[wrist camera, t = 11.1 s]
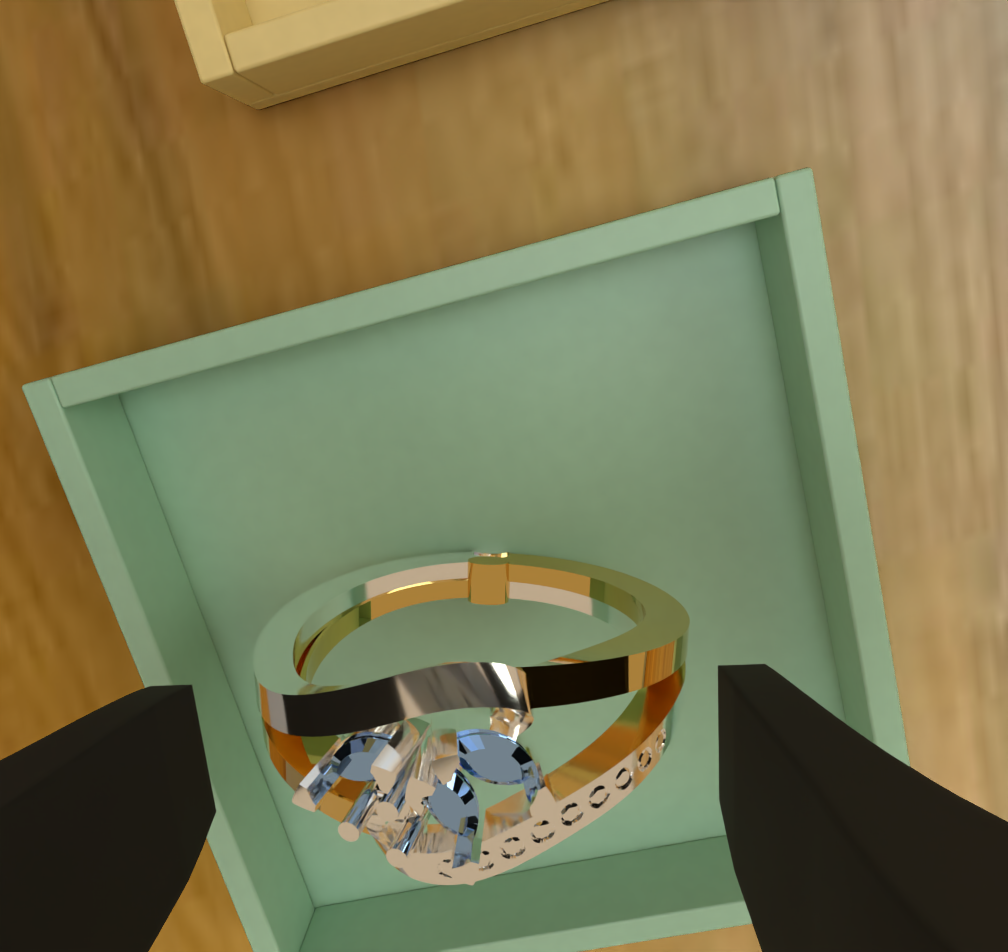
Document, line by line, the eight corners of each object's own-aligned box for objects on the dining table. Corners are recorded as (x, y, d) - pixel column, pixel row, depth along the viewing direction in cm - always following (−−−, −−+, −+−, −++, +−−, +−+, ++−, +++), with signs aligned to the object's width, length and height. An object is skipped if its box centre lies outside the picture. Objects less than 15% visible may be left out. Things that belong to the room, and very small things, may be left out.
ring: (331, 627, 18) (160, 910, 10) (325, 487, 17) (132, 679, 9) (653, 641, 18) (727, 947, 10) (663, 498, 17) (753, 708, 9)
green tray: (307, 911, 21) (272, 1002, 18) (97, 366, 17) (19, 385, 15) (883, 810, 19) (932, 895, 16) (772, 179, 16) (813, 165, 13)
